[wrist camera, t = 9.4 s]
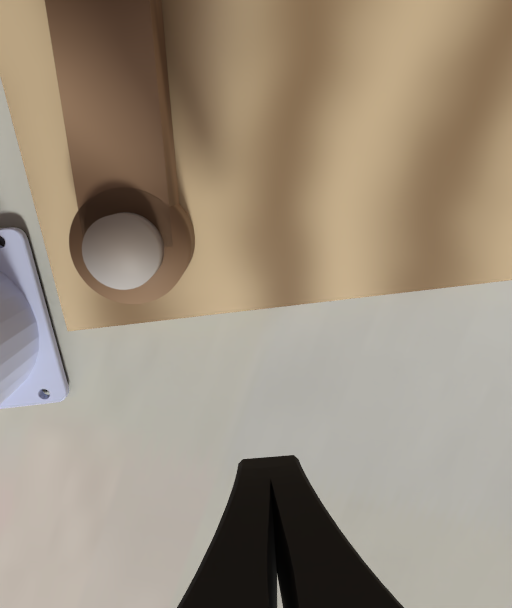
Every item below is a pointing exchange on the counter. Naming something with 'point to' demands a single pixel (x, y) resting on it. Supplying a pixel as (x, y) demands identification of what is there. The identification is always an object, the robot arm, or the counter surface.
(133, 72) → the link
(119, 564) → the counter surface
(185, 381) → the counter surface
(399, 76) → the oak board
